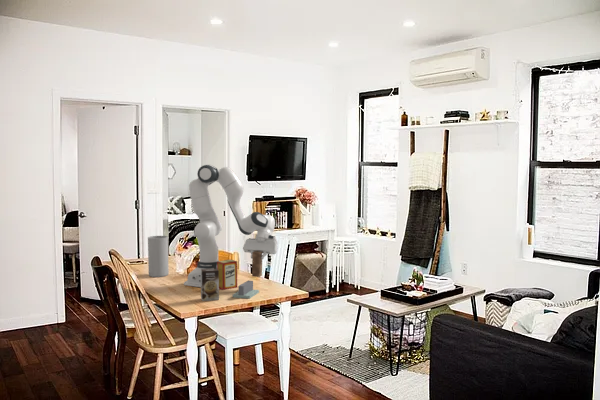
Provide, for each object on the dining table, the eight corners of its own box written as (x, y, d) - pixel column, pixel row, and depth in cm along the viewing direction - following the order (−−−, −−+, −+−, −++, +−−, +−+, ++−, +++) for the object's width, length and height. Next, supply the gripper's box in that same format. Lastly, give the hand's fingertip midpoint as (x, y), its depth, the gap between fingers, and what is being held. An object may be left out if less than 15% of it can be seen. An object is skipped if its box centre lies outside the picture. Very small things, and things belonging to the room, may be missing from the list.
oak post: (252, 276, 318) (252, 252, 317) (254, 274, 322) (254, 251, 321) (259, 276, 317) (259, 252, 316) (261, 275, 321) (262, 251, 320)
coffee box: (202, 301, 292) (201, 271, 290) (201, 298, 298) (200, 268, 297) (219, 300, 294) (218, 270, 293) (217, 297, 300) (217, 267, 299)
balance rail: (232, 297, 300) (232, 285, 299) (242, 291, 313) (242, 280, 313) (249, 298, 297) (249, 286, 296) (258, 292, 310) (258, 281, 310)
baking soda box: (223, 289, 317) (223, 262, 315) (217, 287, 322) (217, 260, 321) (237, 287, 323) (237, 260, 321) (231, 285, 328) (230, 258, 327)
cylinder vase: (165, 277, 350) (164, 238, 348) (146, 277, 351) (145, 238, 349) (170, 273, 363) (169, 235, 361) (151, 273, 363) (151, 235, 361)
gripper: (245, 235, 327) (238, 254, 319) (277, 237, 321) (272, 256, 313) (248, 241, 332) (241, 260, 323) (280, 243, 326) (274, 262, 317)
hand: (256, 258), depth 318 cm, fingers closed on oak post, 4 cm apart
